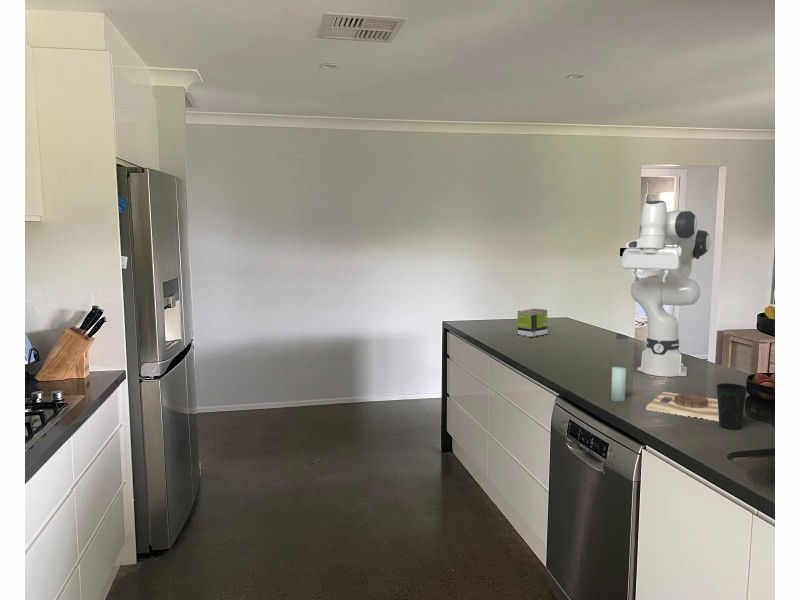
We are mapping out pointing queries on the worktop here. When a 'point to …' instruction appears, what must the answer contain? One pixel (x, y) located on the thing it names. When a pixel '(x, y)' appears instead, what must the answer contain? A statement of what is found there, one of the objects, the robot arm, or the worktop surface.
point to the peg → (618, 384)
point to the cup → (731, 405)
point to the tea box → (532, 322)
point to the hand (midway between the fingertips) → (649, 281)
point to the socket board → (685, 405)
